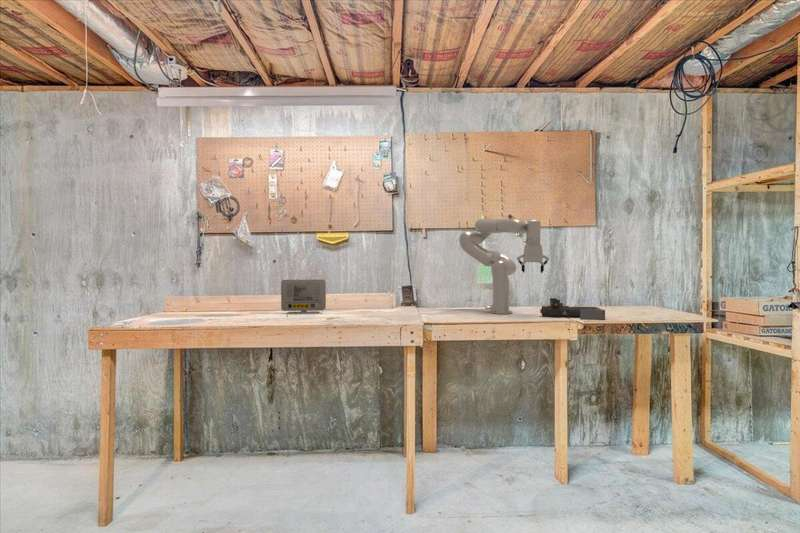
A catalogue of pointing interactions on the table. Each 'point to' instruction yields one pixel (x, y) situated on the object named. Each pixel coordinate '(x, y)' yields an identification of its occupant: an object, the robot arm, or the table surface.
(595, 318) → the dock
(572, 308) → the laser sight
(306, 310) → the network device
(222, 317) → the table surface
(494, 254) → the robot arm
